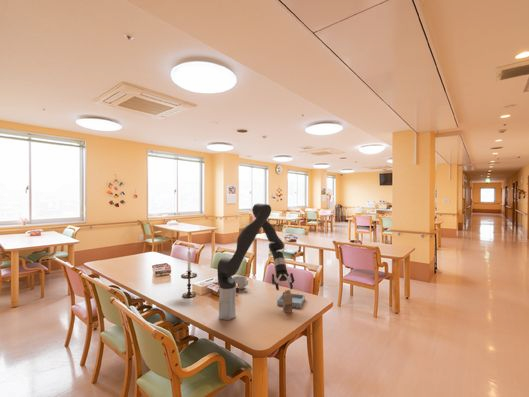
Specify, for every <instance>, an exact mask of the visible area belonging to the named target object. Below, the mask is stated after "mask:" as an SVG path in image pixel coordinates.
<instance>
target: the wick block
mask: <svg viewBox="0 0 529 397" xmlns="http://www.w3.org/2000/svg"><path fill="white" fill-rule="evenodd" d="M282 294H283V306H282V311H283V313H284V314H293V307H292V292H291V290H290V289H285V290H284V291H283V292H282Z"/></svg>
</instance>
